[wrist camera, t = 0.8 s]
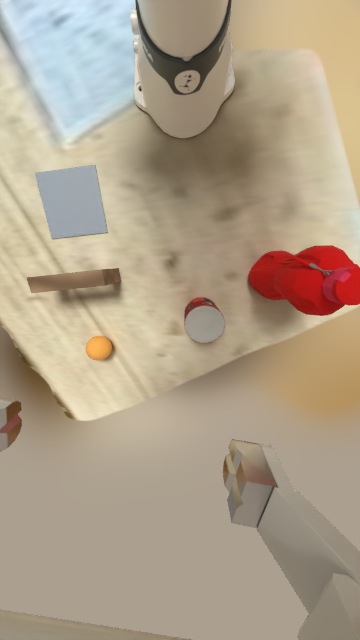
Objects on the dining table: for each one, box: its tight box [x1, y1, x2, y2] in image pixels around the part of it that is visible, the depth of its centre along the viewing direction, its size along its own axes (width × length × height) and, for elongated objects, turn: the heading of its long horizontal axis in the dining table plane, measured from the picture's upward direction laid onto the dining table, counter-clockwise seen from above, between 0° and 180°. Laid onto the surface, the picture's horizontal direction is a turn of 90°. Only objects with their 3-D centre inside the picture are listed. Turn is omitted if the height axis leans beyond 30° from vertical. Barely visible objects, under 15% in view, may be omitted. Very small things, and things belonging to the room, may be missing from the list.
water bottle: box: [249, 246, 360, 316], centre depth 35 cm, size 9×11×25 cm
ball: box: [86, 336, 112, 360], centre depth 50 cm, size 6×6×6 cm
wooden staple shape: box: [27, 268, 121, 293], centre depth 43 cm, size 3×15×10 cm, turn 96°
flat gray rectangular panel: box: [35, 165, 108, 239], centre depth 44 cm, size 13×13×1 cm
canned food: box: [184, 298, 225, 343], centre depth 44 cm, size 8×8×11 cm
